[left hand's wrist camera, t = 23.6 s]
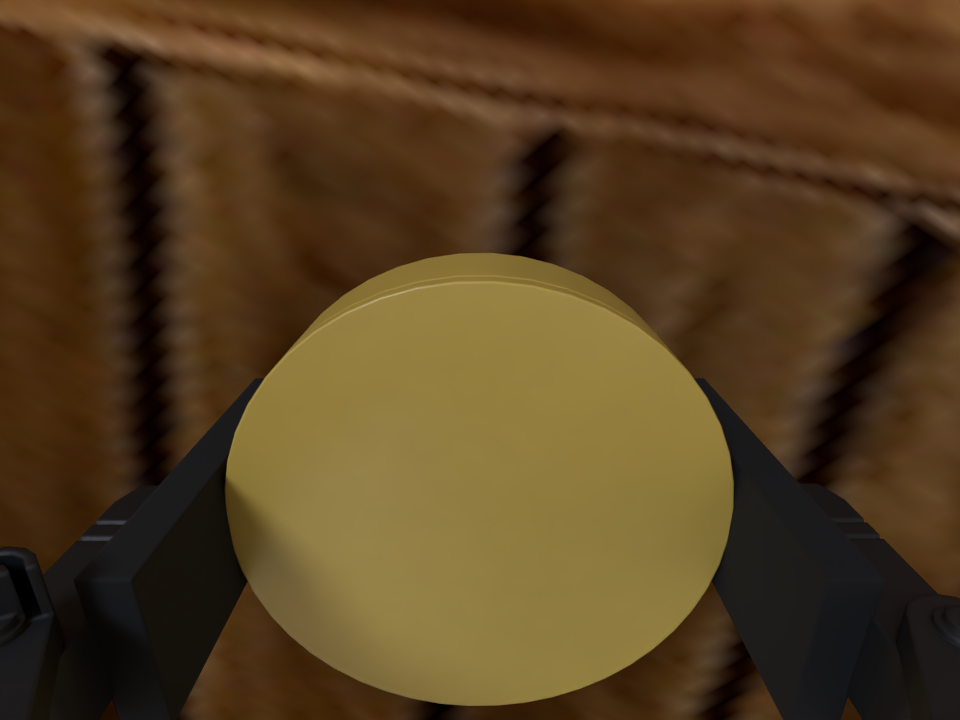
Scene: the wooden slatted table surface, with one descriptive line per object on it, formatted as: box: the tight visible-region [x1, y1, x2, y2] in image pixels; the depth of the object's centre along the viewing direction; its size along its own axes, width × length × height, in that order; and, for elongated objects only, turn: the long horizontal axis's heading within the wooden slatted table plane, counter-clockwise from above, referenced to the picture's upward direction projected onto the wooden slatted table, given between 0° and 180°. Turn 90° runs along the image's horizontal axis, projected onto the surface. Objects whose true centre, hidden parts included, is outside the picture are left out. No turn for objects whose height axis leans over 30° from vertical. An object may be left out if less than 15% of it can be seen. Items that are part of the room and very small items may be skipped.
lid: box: [225, 253, 734, 706], centre depth 11 cm, size 9×9×2 cm
